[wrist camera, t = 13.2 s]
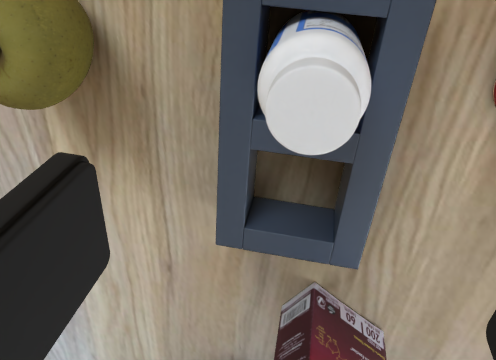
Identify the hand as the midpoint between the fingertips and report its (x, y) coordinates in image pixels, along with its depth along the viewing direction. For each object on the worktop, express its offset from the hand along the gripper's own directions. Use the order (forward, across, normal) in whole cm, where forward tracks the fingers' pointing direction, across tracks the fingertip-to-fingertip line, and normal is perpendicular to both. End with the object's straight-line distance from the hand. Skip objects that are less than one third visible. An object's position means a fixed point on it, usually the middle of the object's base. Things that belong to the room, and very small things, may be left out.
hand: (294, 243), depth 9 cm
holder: (+19, 0, +5) cm, 19 cm away
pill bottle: (+19, 0, +1) cm, 19 cm away
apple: (+19, +17, +1) cm, 26 cm away
